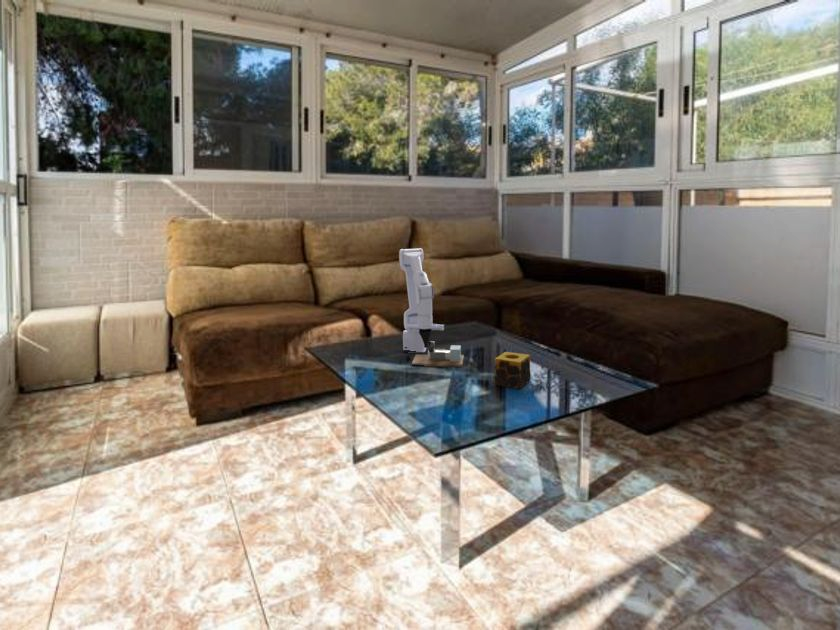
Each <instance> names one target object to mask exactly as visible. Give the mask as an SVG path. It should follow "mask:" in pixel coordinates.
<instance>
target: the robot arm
mask: <svg viewBox="0 0 840 630" xmlns="http://www.w3.org/2000/svg"><path fill="white" fill-rule="evenodd" d="M424 256H425V255H424V250H423V248H422V247H419V248H405V249H403V248H401V249H400V250H399V252H398V257H399V259H398V260H399V267H400V270H402V271H404V274H405V279H406V280H405V281H406V289H407V298H408V307H409V308H408V309H406V310H405V311H404V313H403V326H404V329H405V330H403V332H402V346H403V347H402V349H403V350H410V351H416V352H415V353H425V352H426V351H427V348H428V347H429V339H430V336H431V333H432V331H444V330H445V327H444V326H445V324H437V323H433V322H434V321H433V299H434V297H435V289H434V286H433V284H432V283H431V282H430V281H429V278H428V275H427V273H426V271H423V270H424V269H423V267H422V266H423V263H424V259H425V257H424ZM405 347H407V348H405ZM403 350H402V351H403Z"/></svg>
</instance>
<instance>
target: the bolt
mask: <svg viewBox="0 0 840 630" xmlns="http://www.w3.org/2000/svg"><path fill="white" fill-rule="evenodd" d="M435 349H436V348H435V341H433V340H430V341H429V340H428V351H427V355H428V359H430V352H445V360H450V349H446V350H435Z"/></svg>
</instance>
